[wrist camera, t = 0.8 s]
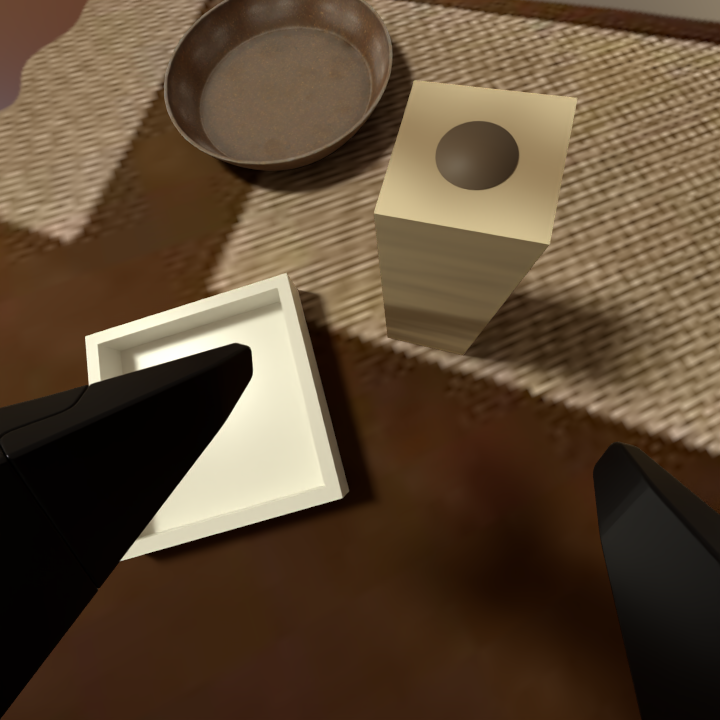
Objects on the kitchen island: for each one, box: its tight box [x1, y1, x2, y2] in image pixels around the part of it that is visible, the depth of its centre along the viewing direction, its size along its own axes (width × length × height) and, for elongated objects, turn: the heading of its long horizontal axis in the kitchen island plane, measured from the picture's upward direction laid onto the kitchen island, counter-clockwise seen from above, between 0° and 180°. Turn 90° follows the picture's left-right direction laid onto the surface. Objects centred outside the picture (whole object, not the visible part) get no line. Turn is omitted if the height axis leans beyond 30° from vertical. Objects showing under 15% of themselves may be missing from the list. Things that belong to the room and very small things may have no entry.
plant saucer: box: [164, 0, 393, 171], centre depth 27 cm, size 18×18×3 cm
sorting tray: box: [85, 273, 349, 561], centre depth 22 cm, size 14×14×2 cm
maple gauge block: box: [374, 80, 577, 355], centre depth 16 cm, size 5×5×13 cm
